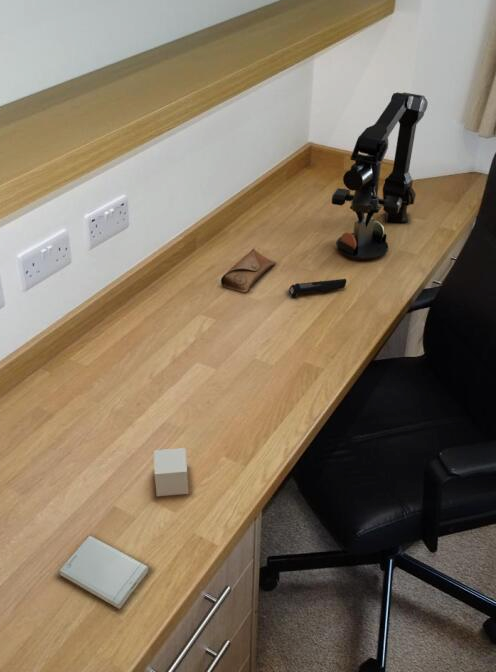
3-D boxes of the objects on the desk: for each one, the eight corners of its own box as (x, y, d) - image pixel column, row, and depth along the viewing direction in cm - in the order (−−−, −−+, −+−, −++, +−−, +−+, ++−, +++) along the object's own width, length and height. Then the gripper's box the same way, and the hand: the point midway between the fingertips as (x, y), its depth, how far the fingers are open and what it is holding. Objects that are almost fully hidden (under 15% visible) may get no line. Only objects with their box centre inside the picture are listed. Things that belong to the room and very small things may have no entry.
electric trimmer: (347, 292, 189) (348, 282, 187) (291, 298, 186) (292, 288, 185) (343, 285, 192) (344, 275, 190) (288, 291, 190) (288, 281, 188)
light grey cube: (188, 493, 132) (187, 471, 129) (156, 496, 132) (154, 474, 129) (186, 469, 137) (185, 447, 134) (156, 472, 137) (153, 450, 134)
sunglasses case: (248, 292, 189) (236, 271, 187) (228, 297, 193) (217, 277, 192) (277, 262, 201) (267, 242, 200) (258, 268, 206) (248, 248, 204)
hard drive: (58, 569, 117) (118, 603, 112) (90, 534, 123) (147, 564, 118) (60, 576, 118) (119, 610, 113) (91, 540, 124) (148, 570, 119)
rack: (325, 244, 208) (327, 217, 203) (361, 230, 215) (364, 203, 210) (361, 265, 198) (364, 237, 193) (398, 249, 205) (402, 221, 200)
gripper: (328, 184, 192) (324, 234, 200) (397, 194, 185) (390, 245, 193) (338, 168, 200) (334, 217, 209) (405, 177, 193) (398, 228, 202)
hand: (363, 227), depth 203 cm, fingers closed, pressing on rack
